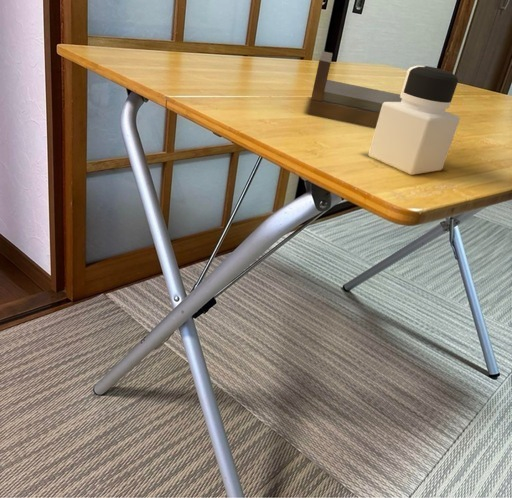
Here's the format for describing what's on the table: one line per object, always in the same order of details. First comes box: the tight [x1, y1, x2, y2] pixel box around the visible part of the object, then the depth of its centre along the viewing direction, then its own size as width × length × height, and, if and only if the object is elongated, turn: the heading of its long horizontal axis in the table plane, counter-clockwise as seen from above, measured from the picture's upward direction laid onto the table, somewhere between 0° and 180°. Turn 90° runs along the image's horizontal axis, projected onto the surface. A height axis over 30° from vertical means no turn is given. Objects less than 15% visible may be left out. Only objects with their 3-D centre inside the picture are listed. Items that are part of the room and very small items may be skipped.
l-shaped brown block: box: [307, 51, 402, 129], centre depth 87 cm, size 16×14×8 cm
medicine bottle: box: [368, 64, 461, 176], centre depth 64 cm, size 7×7×12 cm
